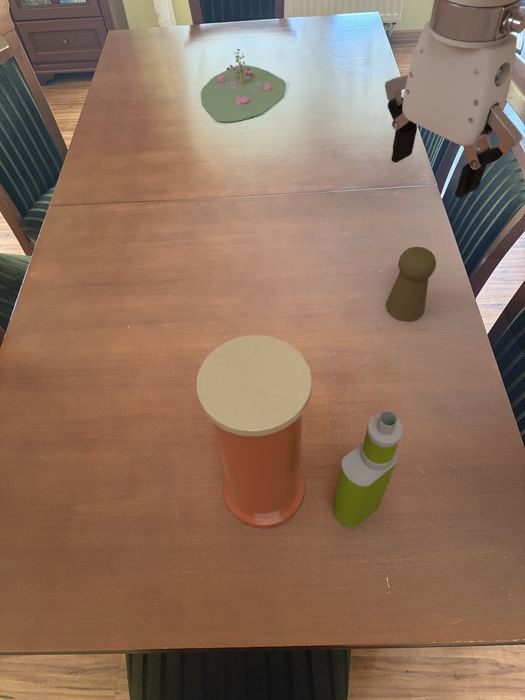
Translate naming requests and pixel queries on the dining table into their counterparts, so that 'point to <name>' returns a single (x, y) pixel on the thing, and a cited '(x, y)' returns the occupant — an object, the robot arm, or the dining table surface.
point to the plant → (241, 92)
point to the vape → (367, 471)
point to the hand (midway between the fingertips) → (431, 174)
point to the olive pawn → (411, 284)
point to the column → (258, 424)
